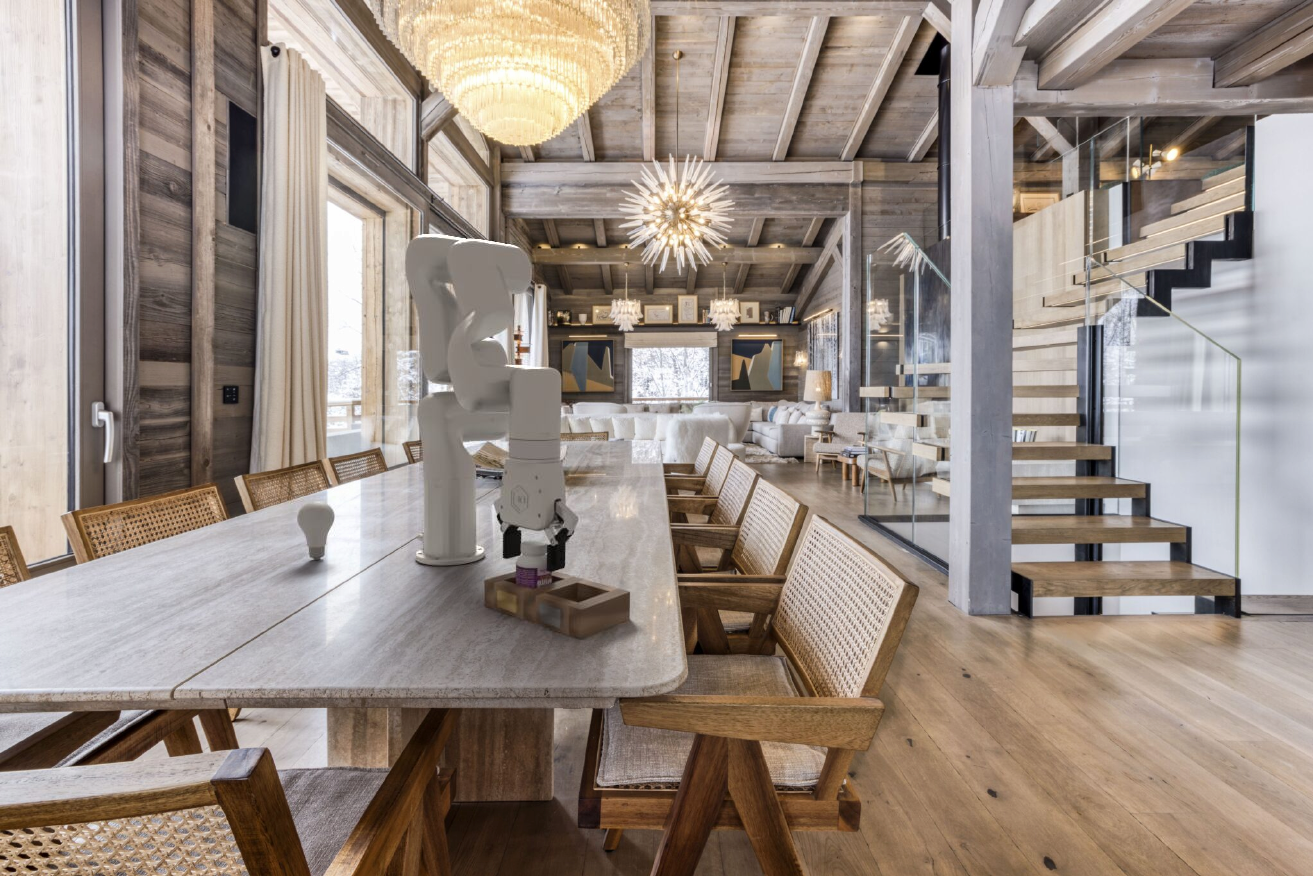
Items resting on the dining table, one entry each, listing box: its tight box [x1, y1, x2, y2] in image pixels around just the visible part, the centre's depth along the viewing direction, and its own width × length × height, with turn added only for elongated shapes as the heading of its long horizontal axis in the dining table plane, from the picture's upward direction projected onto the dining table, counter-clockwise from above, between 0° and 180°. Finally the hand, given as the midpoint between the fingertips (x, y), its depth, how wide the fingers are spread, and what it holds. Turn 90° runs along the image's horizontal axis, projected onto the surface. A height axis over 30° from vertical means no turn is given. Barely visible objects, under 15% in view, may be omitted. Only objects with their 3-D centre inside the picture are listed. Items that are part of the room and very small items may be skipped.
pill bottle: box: [515, 539, 552, 589], centre depth 97 cm, size 5×5×10 cm
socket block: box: [483, 570, 631, 640], centre depth 95 cm, size 20×10×4 cm, turn 53°
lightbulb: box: [297, 500, 335, 561], centre depth 120 cm, size 6×6×11 cm
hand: (533, 563), depth 97 cm, fingers open, 9 cm apart
